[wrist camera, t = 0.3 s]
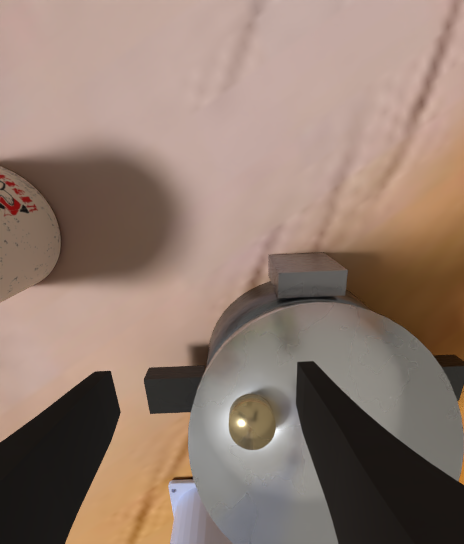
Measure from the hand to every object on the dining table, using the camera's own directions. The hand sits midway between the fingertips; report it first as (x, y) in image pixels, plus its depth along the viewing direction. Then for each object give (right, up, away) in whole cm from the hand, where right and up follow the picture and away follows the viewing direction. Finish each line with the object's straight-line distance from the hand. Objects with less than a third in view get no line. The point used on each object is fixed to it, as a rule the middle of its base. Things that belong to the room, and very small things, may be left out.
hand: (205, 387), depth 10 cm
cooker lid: (+6, -5, +5) cm, 9 cm away
